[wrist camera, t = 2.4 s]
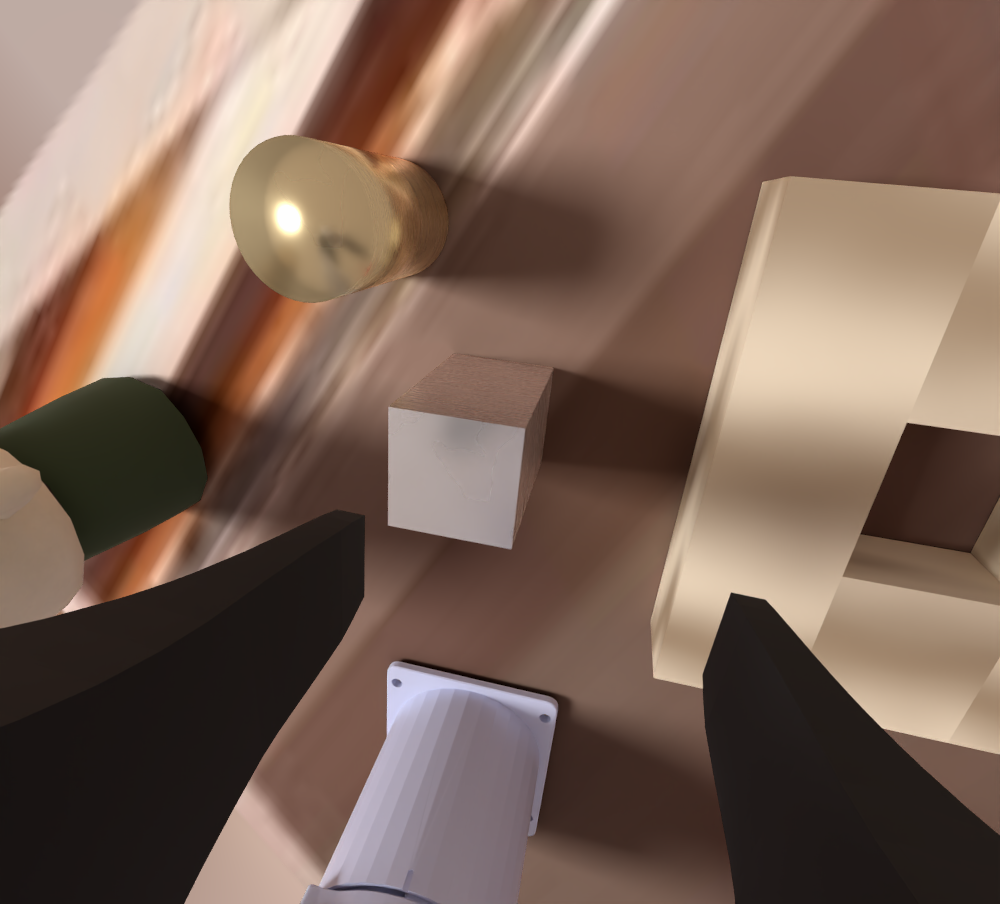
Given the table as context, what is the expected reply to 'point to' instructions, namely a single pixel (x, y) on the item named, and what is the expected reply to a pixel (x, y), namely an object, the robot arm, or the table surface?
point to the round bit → (333, 217)
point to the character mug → (87, 487)
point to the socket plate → (848, 450)
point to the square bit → (468, 448)
